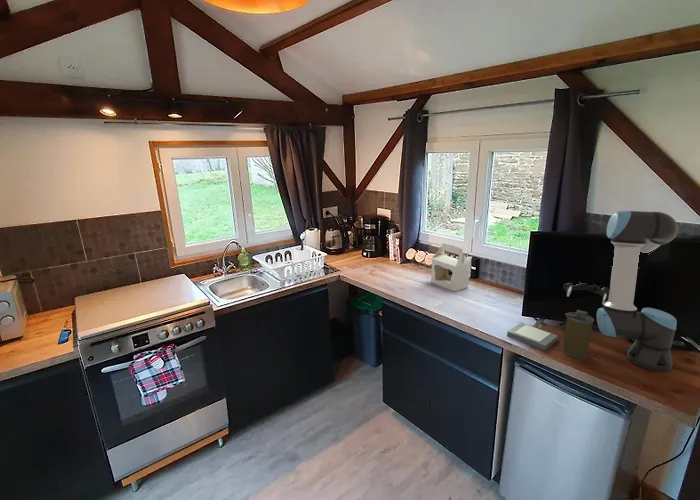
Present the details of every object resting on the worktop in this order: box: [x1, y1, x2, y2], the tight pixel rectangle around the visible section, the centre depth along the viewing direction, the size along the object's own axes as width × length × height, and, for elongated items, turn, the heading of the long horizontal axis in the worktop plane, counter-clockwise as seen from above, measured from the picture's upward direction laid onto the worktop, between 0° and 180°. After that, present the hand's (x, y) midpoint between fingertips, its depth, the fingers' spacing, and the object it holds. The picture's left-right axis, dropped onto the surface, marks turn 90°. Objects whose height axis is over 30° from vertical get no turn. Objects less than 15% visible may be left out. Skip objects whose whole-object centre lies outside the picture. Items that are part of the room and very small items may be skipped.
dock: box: [506, 322, 559, 351], centre depth 175 cm, size 18×14×3 cm
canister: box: [561, 309, 595, 359], centre depth 161 cm, size 11×10×20 cm
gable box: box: [430, 242, 471, 292], centre depth 242 cm, size 22×13×28 cm, turn 32°
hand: (585, 297), depth 165 cm, fingers open, 13 cm apart
